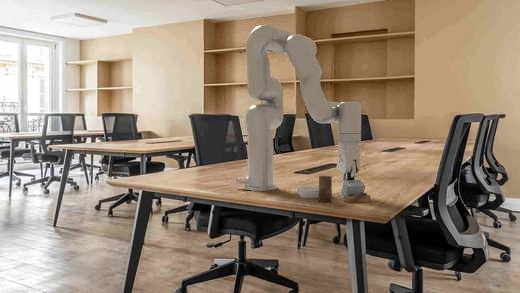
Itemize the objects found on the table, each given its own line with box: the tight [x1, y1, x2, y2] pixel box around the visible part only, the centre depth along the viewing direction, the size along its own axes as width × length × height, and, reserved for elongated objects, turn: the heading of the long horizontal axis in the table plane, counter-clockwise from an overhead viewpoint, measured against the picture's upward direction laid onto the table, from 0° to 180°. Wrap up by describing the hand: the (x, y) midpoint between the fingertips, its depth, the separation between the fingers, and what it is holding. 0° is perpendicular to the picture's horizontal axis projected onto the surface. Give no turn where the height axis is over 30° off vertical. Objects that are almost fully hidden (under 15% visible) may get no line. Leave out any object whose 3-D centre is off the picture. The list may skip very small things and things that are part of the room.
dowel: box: [318, 175, 333, 203], centre depth 136 cm, size 4×4×8 cm
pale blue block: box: [341, 179, 366, 198], centre depth 140 cm, size 6×4×5 cm, turn 100°
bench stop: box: [343, 192, 371, 203], centre depth 136 cm, size 8×2×3 cm, turn 98°
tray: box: [296, 185, 333, 200], centre depth 146 cm, size 10×10×2 cm
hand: (348, 192), depth 144 cm, fingers closed
